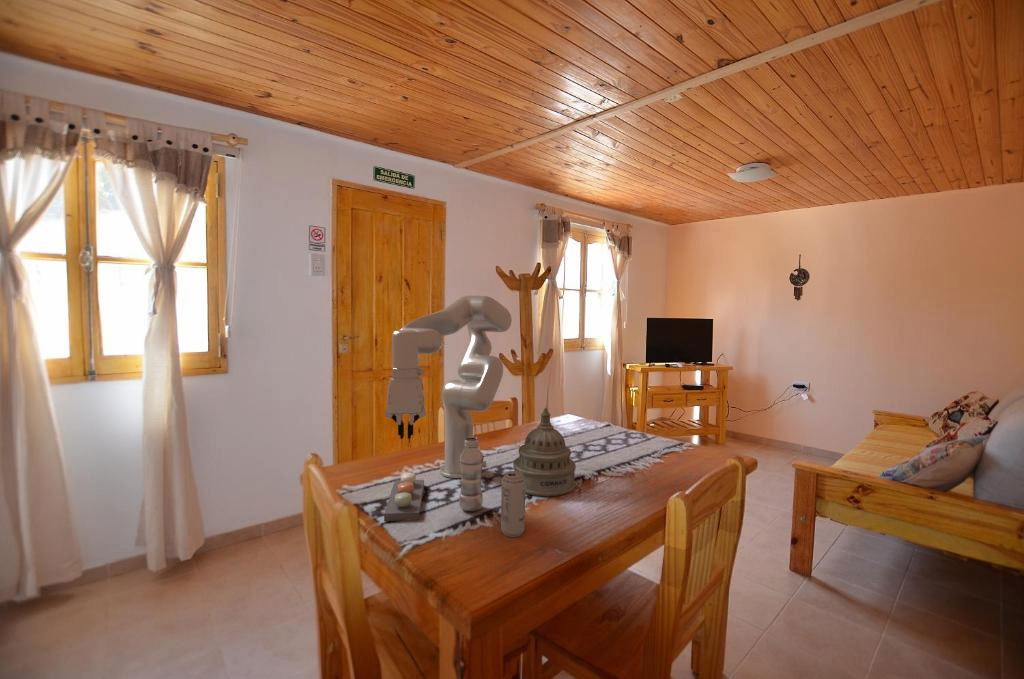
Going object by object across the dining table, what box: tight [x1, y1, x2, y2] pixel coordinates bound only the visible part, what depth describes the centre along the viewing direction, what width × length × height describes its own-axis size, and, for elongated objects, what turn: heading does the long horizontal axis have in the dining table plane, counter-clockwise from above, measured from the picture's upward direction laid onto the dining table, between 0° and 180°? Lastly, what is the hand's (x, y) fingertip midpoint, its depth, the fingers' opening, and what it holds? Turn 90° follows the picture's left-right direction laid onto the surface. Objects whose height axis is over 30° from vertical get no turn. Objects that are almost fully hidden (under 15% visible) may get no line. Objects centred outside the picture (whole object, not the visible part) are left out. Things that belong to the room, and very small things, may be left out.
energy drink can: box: [500, 470, 526, 538], centre depth 117 cm, size 6×6×15 cm
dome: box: [512, 407, 577, 497], centre depth 148 cm, size 20×25×20 cm
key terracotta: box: [398, 482, 414, 494], centre depth 134 cm, size 4×4×2 cm
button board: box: [383, 479, 425, 522], centre depth 134 cm, size 9×23×2 cm, turn 7°
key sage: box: [395, 493, 411, 506], centre depth 126 cm, size 4×4×2 cm
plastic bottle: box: [458, 437, 484, 512], centre depth 129 cm, size 6×7×20 cm
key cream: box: [400, 472, 417, 483], centre depth 141 cm, size 4×4×2 cm
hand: (405, 437), depth 132 cm, fingers closed
